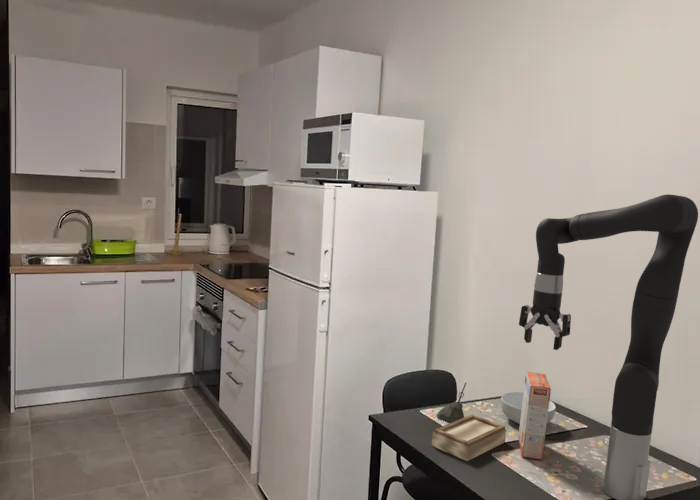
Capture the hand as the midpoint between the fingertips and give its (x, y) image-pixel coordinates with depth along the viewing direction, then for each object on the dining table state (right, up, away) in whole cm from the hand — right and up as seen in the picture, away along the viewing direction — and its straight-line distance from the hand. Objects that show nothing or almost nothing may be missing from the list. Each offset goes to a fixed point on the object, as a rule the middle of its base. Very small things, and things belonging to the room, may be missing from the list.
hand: (541, 345), depth 173 cm
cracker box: (-2, -31, +4) cm, 31 cm away
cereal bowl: (+2, -29, +24) cm, 37 cm away
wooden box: (-20, -29, +4) cm, 35 cm away
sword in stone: (-22, -27, +22) cm, 41 cm away
